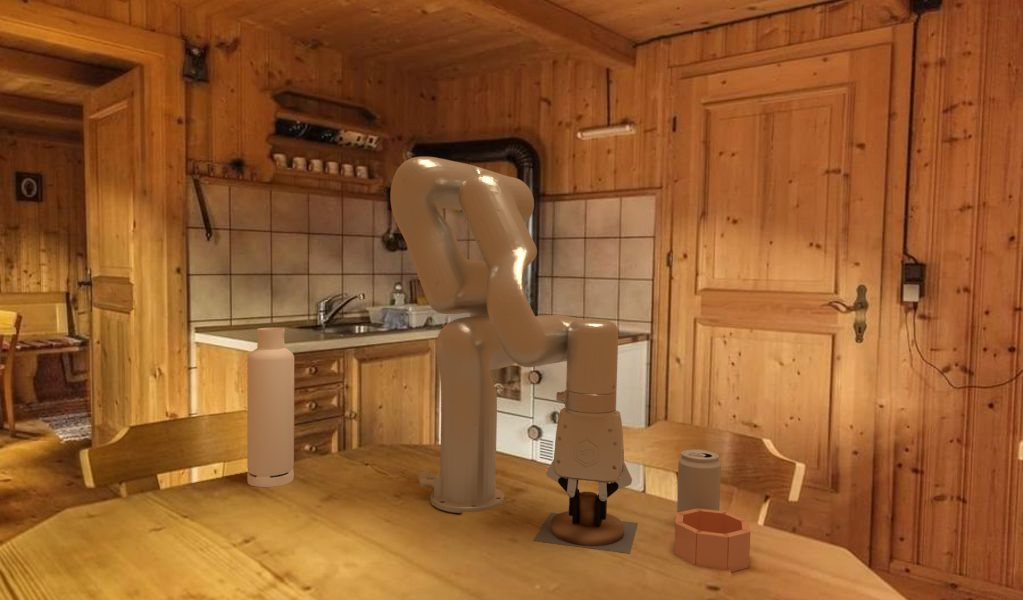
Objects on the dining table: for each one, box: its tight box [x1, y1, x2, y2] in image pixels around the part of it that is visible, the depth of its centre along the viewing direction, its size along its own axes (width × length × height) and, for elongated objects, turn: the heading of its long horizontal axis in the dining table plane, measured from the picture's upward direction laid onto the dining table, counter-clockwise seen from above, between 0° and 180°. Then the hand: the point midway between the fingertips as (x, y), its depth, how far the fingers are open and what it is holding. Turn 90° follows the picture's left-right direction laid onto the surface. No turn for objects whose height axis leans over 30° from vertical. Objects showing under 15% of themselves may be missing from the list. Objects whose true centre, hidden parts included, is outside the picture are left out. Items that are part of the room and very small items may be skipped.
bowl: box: [673, 508, 751, 573], centre depth 98 cm, size 10×10×5 cm
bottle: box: [246, 327, 295, 488], centre depth 127 cm, size 8×8×28 cm
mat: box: [532, 512, 639, 555], centre depth 105 cm, size 14×12×1 cm
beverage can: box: [676, 449, 722, 513], centre depth 108 cm, size 6×6×12 cm
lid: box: [551, 491, 624, 546], centre depth 105 cm, size 11×11×6 cm
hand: (587, 521), depth 105 cm, fingers closed on lid, 2 cm apart
